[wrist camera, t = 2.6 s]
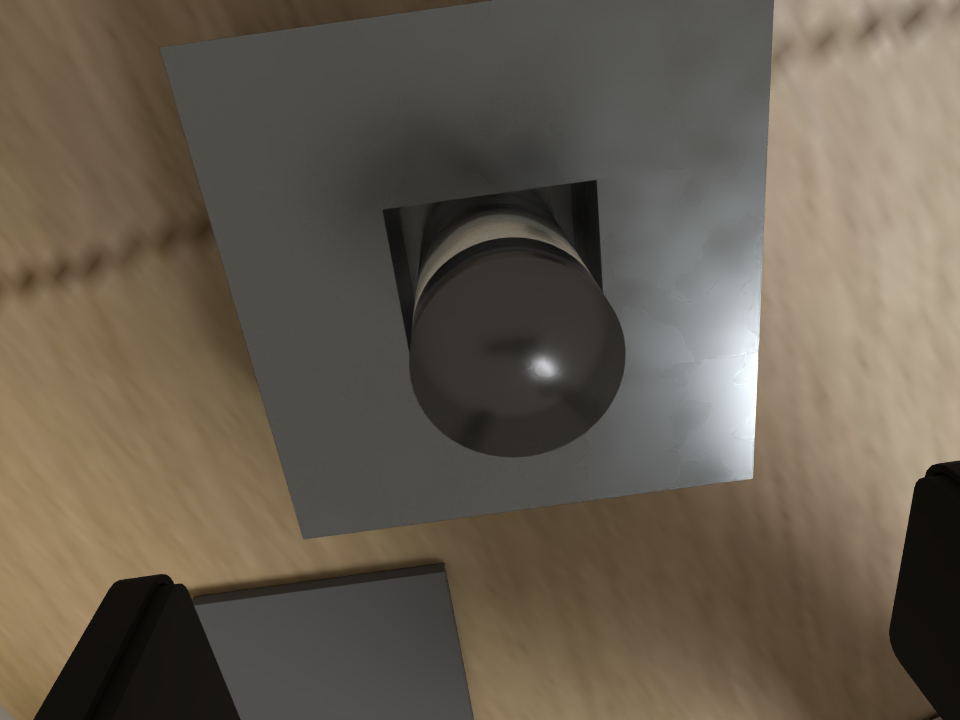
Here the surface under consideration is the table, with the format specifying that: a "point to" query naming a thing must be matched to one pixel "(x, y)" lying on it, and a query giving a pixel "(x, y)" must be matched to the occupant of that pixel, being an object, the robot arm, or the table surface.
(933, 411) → the table surface
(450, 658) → the mat
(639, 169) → the housing
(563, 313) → the white and black cylinder
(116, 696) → the robot arm
